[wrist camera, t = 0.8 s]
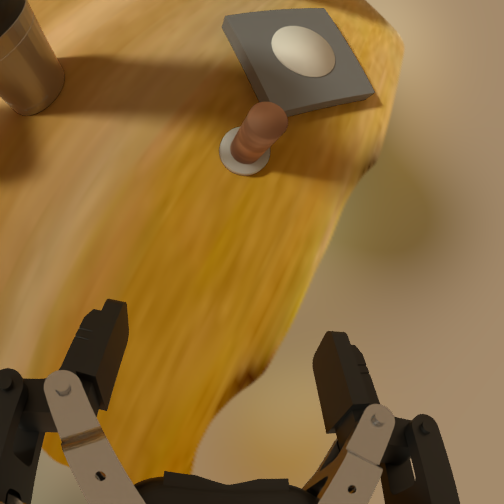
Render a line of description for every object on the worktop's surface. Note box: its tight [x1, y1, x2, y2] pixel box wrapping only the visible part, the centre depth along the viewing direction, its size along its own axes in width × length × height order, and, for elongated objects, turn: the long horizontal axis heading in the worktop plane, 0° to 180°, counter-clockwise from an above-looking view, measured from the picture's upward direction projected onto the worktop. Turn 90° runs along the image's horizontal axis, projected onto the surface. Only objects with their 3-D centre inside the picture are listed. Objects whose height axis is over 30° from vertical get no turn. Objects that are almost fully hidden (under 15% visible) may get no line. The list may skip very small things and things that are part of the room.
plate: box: [222, 8, 375, 117], centre depth 38 cm, size 18×18×3 cm
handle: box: [219, 101, 288, 176], centre depth 33 cm, size 6×6×11 cm
